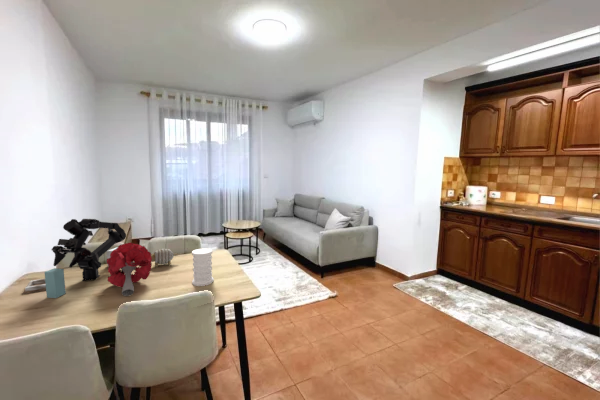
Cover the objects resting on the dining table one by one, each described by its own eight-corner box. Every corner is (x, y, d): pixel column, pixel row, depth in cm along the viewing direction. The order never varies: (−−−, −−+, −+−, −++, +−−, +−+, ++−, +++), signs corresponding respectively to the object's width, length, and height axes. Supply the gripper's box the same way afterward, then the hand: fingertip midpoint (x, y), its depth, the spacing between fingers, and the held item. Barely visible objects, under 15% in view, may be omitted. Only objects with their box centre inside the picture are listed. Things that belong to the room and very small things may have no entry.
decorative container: (218, 280, 160) (217, 249, 158) (203, 287, 150) (202, 255, 148) (202, 276, 165) (202, 247, 163) (187, 283, 155) (186, 252, 153)
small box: (114, 267, 177) (113, 251, 176) (107, 266, 178) (106, 250, 177) (124, 263, 185) (123, 247, 184) (117, 262, 186) (116, 247, 185)
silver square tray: (58, 280, 156) (58, 276, 155) (54, 288, 146) (54, 283, 146) (29, 285, 149) (28, 280, 149) (23, 293, 139) (22, 288, 139)
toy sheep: (148, 265, 182) (147, 248, 181) (175, 260, 192) (175, 244, 191) (151, 270, 174) (150, 252, 172) (179, 264, 184) (179, 248, 182)
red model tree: (155, 300, 149) (153, 258, 170) (150, 271, 136) (148, 230, 156) (107, 311, 140) (111, 266, 161) (96, 282, 126) (102, 236, 147)
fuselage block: (56, 292, 141) (54, 268, 139) (65, 293, 141) (63, 268, 139) (46, 297, 136) (44, 272, 134) (56, 298, 136) (53, 272, 134)
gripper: (52, 230, 146) (32, 258, 137) (83, 232, 143) (65, 261, 134) (68, 240, 155) (51, 267, 146) (98, 242, 152) (82, 270, 143)
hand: (62, 266), depth 142 cm, fingers open, 9 cm apart
